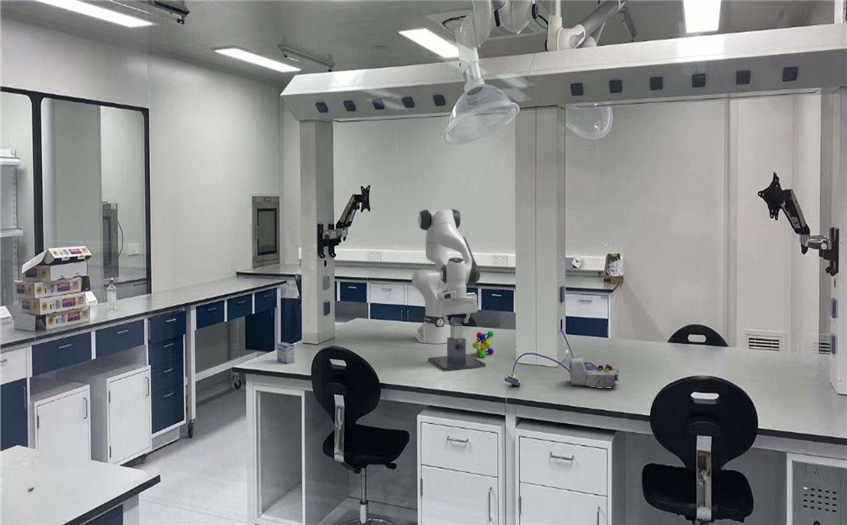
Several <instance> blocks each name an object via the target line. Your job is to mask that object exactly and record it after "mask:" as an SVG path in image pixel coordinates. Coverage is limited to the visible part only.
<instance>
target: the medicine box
mask: <svg viewBox="0 0 847 525" xmlns="http://www.w3.org/2000/svg"><path fill="white" fill-rule="evenodd" d="M276 358H277V359H276V360H277V362H278V363H281V364H285V365H290V364H293V363H295V344H292V343H288V342H286V341H285V342H283V341H282V342H279V343H276Z"/></svg>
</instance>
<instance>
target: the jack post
mask: <svg viewBox="0 0 847 525" xmlns="http://www.w3.org/2000/svg"><path fill="white" fill-rule="evenodd" d="M450 337H451V339H453V340H457V339H462V338H463V324H462V323H459V322H455V323H454V322H453V323H450Z"/></svg>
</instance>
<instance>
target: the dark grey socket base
mask: <svg viewBox="0 0 847 525" xmlns="http://www.w3.org/2000/svg"><path fill="white" fill-rule="evenodd" d="M466 341H467V339H466V338H464V337H462V339H457V340H453V339H451V336H450V337H447V343H446V345H447V346H446V352H447V354H446V355H445V356H435V357H434V356H433V357H428V358H427V362H429V363H430V362H431V364H432V363H433V364H432V365H434V366H435V365H436V368H439V369H440V368H441V370H442V371H444V372H451V371H452V370H453V371H459V370H461V371H462V370H463V371H464V370H471V369H479V368H486V367H487V365H486V363H485V362H483V361H482V360H480V359H477V358H475V357H474V356H472V355H469V354H468V353H467V351H466V348H467V347H466V345H467V344H466V343H467V342H466Z"/></svg>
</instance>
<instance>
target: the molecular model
mask: <svg viewBox="0 0 847 525" xmlns="http://www.w3.org/2000/svg"><path fill="white" fill-rule="evenodd" d="M492 337H494V332H493V331H492V330H489V331H488V332H487V333H482V332H481V331H478V332H476V339H475V341H474V342H472V348H474V349H476V354H477V356H479V357H480V358H481V359H484V358H485V357H486V353H488V355H493V354H494V353H495V352H494V349H493V348H491V346H492V343H491V342H490V341H491V338H492Z"/></svg>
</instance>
